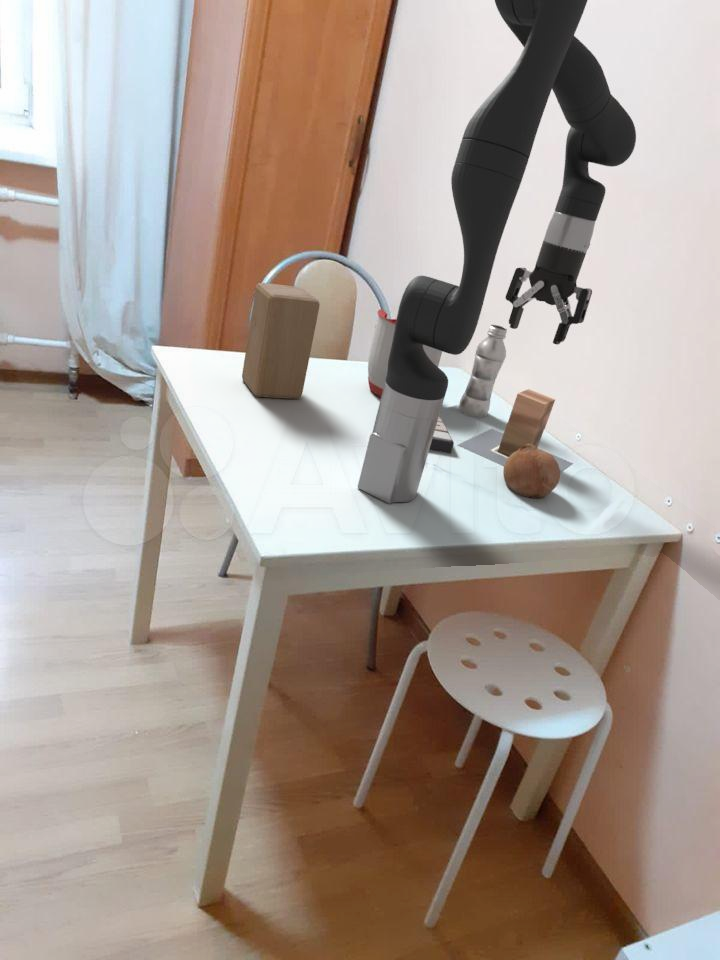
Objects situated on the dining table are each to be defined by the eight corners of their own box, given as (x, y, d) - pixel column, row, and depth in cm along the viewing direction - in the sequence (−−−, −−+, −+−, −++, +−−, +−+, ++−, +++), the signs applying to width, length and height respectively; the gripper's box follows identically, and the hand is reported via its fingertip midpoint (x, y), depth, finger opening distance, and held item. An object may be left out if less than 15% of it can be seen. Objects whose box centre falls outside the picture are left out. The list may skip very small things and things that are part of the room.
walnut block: (523, 463, 135) (533, 434, 132) (497, 451, 137) (507, 423, 134) (534, 456, 139) (544, 428, 136) (508, 445, 141) (518, 417, 139)
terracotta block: (534, 434, 132) (544, 404, 129) (507, 423, 134) (517, 393, 132) (544, 428, 136) (555, 399, 134) (518, 417, 139) (528, 389, 136)
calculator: (440, 412, 144) (455, 439, 130) (434, 432, 145) (449, 460, 132) (387, 402, 142) (397, 428, 128) (382, 422, 143) (391, 450, 130)
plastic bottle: (452, 415, 154) (479, 324, 145) (462, 408, 160) (489, 320, 151) (479, 425, 152) (508, 334, 143) (489, 418, 157) (517, 330, 149)
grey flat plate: (542, 490, 128) (544, 483, 128) (455, 450, 136) (457, 444, 135) (570, 468, 141) (573, 462, 140) (490, 433, 149) (491, 428, 148)
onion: (499, 500, 128) (495, 444, 127) (551, 495, 128) (547, 439, 127) (514, 507, 118) (510, 447, 117) (569, 502, 119) (566, 441, 118)
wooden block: (239, 379, 145) (255, 280, 136) (286, 381, 149) (303, 286, 141) (254, 398, 137) (271, 295, 128) (302, 400, 142) (322, 301, 133)
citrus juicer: (392, 377, 169) (414, 293, 160) (443, 406, 158) (469, 318, 149) (341, 379, 159) (360, 289, 150) (391, 411, 148) (415, 316, 139)
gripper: (519, 232, 122) (491, 324, 129) (598, 255, 116) (563, 351, 123) (536, 233, 128) (508, 322, 135) (611, 255, 122) (578, 347, 129)
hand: (534, 335), depth 129 cm, fingers open, 8 cm apart
